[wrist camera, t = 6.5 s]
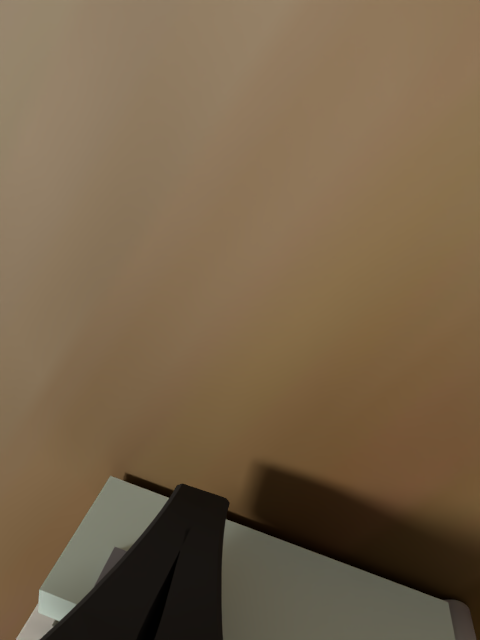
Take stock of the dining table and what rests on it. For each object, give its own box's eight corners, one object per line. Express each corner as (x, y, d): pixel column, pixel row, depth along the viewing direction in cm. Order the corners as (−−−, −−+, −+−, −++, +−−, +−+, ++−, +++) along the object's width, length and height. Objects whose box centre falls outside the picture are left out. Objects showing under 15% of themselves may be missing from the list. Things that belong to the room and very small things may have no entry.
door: (459, 624, 13) (496, 809, 10) (110, 493, 14) (32, 621, 10) (480, 602, 12) (528, 790, 9) (114, 466, 13) (34, 593, 10)
